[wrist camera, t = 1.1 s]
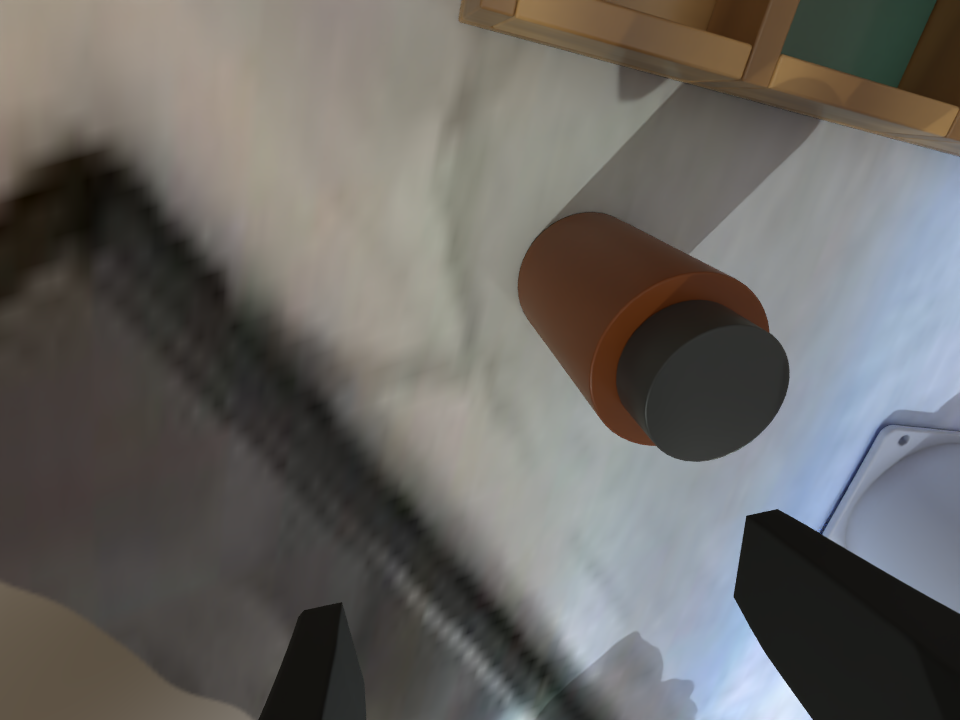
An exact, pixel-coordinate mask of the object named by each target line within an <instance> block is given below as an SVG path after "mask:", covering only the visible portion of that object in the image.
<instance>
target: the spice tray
mask: <svg viewBox="0 0 960 720" xmlns="http://www.w3.org/2000/svg"><path fill="white" fill-rule="evenodd" d="M459 21H460V22H462V23H466V24H469V25H473V26H477V27H480V28H484V29H488V30H492V31H495V32H499V33H503V34H506V35H510V36H514V37H517V38H521V39H525V40H529V41H532V42H536V43H540V44H543V45H547V46H551V47H555V48H558V49H562V50H566V51H569V52H573V53H577V54H581V55H584V56H588V57H592V58H595V59H599V60H603V61H607V62H610V63H614V64H618V65H621V66H625V67H629V68H633V69H636V70H640V71H644V72H647V73H651V74H655V75H659V76H662V77H666V78H670V79H673V80H677V81H681V82H685V83H688V84H692V85H696V86H699V87H703V88H707V89H711V90H714V91H718V92H722V93H725V94H729V95H733V96H736V97H740V98H744V99H748V100H751V101H755V102H759V103H762V104H766V105H770V106H774V107H777V108H781V109H785V110H788V111H792V112H796V113H800V114H803V115H807V116H811V117H814V118H818V119H822V120H826V121H829V122H833V123H837V124H840V125H844V126H848V127H852V128H855V129H859V130H863V131H866V132H870V133H874V134H878V135H881V136H885V137H889V138H892V139H896V140H900V141H904V142H907V143H911V144H915V145H918V146H922V147H926V148H929V149H933V150H937V151H941V152H944V153H948V154H952V155H955V156H959V157H960V0H462V1H461V7H460V13H459Z"/></svg>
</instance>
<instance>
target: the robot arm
mask: <svg viewBox="0 0 960 720" xmlns="http://www.w3.org/2000/svg"><path fill="white" fill-rule="evenodd" d="M734 598H735V600H736V602H737V604H738V606H739V607H740V609H741V611H742V613H743V615H744V617H745V619H746V620H747V622H748V624H749V626H750V628H751V629H752V631H753V633H754V635H755V636H756V638H757V640H758V641H759V643H760V645H761V647H762V648H763V650H764V652H765V653H766V655H767V656H768V658H769V659H770V660H771V662H772V663H773V665H774V666H775V668H776V669H777V670H778V672H779V673H780V675H781V676H782V677H783V679H784V680H785V682H786V683H787V684H788V686H789V687H790V689H791V690H792V691H793V693H794V694H795V696H796V697H797V698H798V700H799V701H800V703H801V704H802V705H803V707H804V708H805V709H806V711H807V712H808V714H809V715H810V716H811V718H812V719H813V720H960V432H959V431H949V430H939V429H929V428H920V427H910V426H900V425H889V426H887V427H885V428H883V429H882V430H881V431H880V433H879V434H878V436H877V438H876V440H875V441H874V443H873V445H872V447H871V448H870V450H869V452H868V454H867V456H866V457H865V459H864V461H863V463H862V464H861V466H860V468H859V470H858V471H857V473H856V475H855V477H854V479H853V480H852V482H851V484H850V486H849V487H848V489H847V491H846V493H845V495H844V496H843V498H842V500H841V502H840V503H839V505H838V507H837V509H836V511H835V512H834V514H833V516H832V518H831V519H830V521H829V523H828V525H827V527H826V528H825V530H824V532H823V534H820V533H818V532H817V531H815V530H813V529H812V528H810V527H808V526H806V525H805V524H803V523H801V522H799V521H798V520H796V519H794V518H792V517H791V516H789V515H787V514H785V513H783V512H782V511H780V510H778V509H776V510H771V511H767V512H762V513H757V514H753V515H748V516H746V522H745V528H744V534H743V541H742V547H741V553H740V559H739V566H738V572H737V578H736V584H735V591H734ZM258 720H366V705H365V687H364V680H363V676H362V673H361V669H360V666H359V662H358V658H357V655H356V651H355V648H354V644H353V640H352V637H351V633H350V630H349V626H348V622H347V619H346V615H345V612H344V608H343V604H342V602H341V603H336V604H332V605H327V606H322V607H318V608H313V609H308V610H304V611H303V612H302V613H301V615H300V616H299V617H298V620H297V623H296V626H295V629H294V632H293V635H292V638H291V640H290V643H289V646H288V649H287V651H286V654H285V657H284V659H283V662H282V664H281V667H280V669H279V672H278V674H277V677H276V679H275V682H274V684H273V687H272V689H271V692H270V694H269V696H268V699H267V701H266V704H265V706H264V708H263V710H262V713H261V715H260V717H259V719H258Z"/></svg>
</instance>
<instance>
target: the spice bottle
mask: <svg viewBox="0 0 960 720" xmlns="http://www.w3.org/2000/svg"><path fill="white" fill-rule="evenodd" d="M518 295H519V300H520V304H521V307H522V309H523V312H524V313H525V315H526V317H527V319H528V320H529V321H530V323H531V324H532V326H533V327H534V328H535V330H536V331H537V332H538V334H539V335H540V337H541V338H542V339H543V341H544V342H545V343H546V345H547V346H548V348H549V349H550V350H551V352H552V353H553V354H554V356H555V357H556V359H557V360H558V361H559V363H560V364H561V365H562V367H563V368H564V370H565V371H566V372H567V374H568V375H569V376H570V378H571V379H572V381H573V382H574V383H575V385H576V386H577V387H578V389H579V390H580V392H581V393H582V394H583V396H584V397H585V398H586V400H587V401H588V403H589V404H590V405H591V407H592V408H593V409H594V411H595V412H596V414H597V415H598V416H599V418H600V419H601V420H602V422H603V423H604V424H605V425H606V426H607V427H608V428H609V429H610V430H611V431H612V432H614V433H615V434H617V435H618V436H620V437H622V438H624V439H626V440H628V441H631V442H634V443H638V444H642V445H649V446H657V447H658V448H659V449H660V450H661V451H663V452H664V453H666V454H667V455H669V456H671V457H674V458H677V459H680V460H684V461H693V462H700V461H709V460H713V459H718V458H721V457H724V456H726V455H729V454H731V453H733V452H735V451H737V450H739V449H741V448H742V447H744V446H745V445H747V444H748V443H750V442H751V441H752V440H754V439H755V438H756V437H757V436H758V435H759V434H760V433H761V432H762V431H763V430H764V429H765V428H766V427H767V426H768V425H769V424H770V422H771V421H772V420H773V418H774V417H775V415H776V414H777V413H778V411H779V409H780V407H781V405H782V403H783V401H784V398H785V396H786V392H787V389H788V384H789V363H788V359H787V356H786V353H785V351H784V349H783V347H782V345H781V344H780V343H779V341H778V340H777V339H776V338H775V337H774V336H773V335H772V334H770V333H769V326H768V320H767V317H766V314H765V311H764V309H763V307H762V305H761V303H760V301H759V299H758V298H757V297H756V295H755V294H754V293H753V292H752V291H751V290H750V289H749V288H748V287H747V286H746V285H744V284H743V283H741V282H740V281H738V280H737V279H735V278H733V277H731V276H729V275H727V274H725V273H723V272H721V271H719V270H717V269H715V268H713V267H711V266H709V265H707V264H705V263H703V262H702V261H700V260H698V259H696V258H694V257H692V256H690V255H688V254H686V253H684V252H682V251H680V250H678V249H676V248H674V247H672V246H670V245H668V244H666V243H664V242H662V241H660V240H659V239H657V238H655V237H653V236H651V235H649V234H647V233H645V232H643V231H641V230H639V229H637V228H635V227H633V226H631V225H629V224H627V223H625V222H623V221H621V220H619V219H617V218H615V217H613V216H611V215H607V214H603V213H596V212H585V213H579V214H574V215H571V216H568V217H565V218H563V219H561V220H559V221H557V222H556V223H554V224H552V225H551V226H549V227H548V228H547V229H546V230H544V231H543V232H542V233H541V234H540V235H539V236H538V237H537V238H536V240H535V241H534V242H533V243H532V245H531V246H530V248H529V250H528V251H527V253H526V255H525V257H524V259H523V262H522V265H521V268H520V272H519V278H518Z"/></svg>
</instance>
